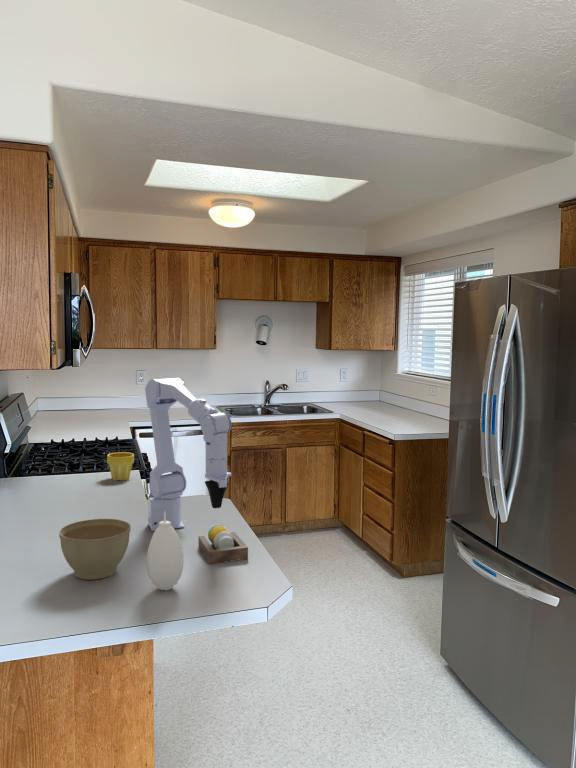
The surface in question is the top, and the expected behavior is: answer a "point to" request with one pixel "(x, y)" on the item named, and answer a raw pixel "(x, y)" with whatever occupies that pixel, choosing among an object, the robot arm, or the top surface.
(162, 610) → the top surface
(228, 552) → the u rest
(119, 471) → the plant pot
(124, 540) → the planter bowl
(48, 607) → the top surface
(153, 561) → the sauce bottle
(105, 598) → the top surface
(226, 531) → the supplement bottle
